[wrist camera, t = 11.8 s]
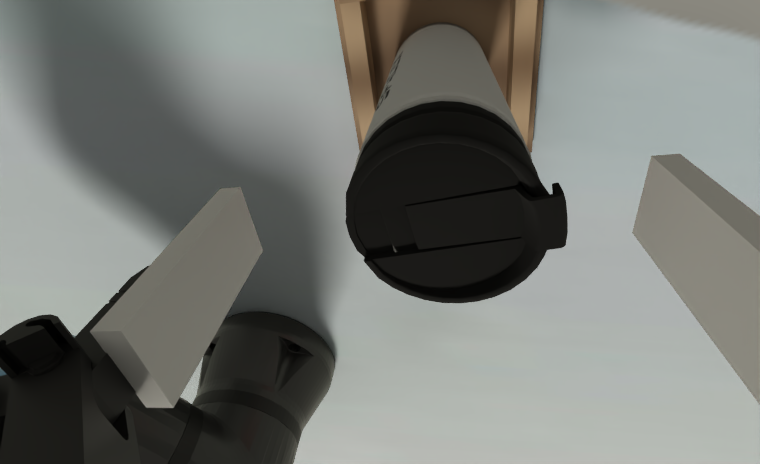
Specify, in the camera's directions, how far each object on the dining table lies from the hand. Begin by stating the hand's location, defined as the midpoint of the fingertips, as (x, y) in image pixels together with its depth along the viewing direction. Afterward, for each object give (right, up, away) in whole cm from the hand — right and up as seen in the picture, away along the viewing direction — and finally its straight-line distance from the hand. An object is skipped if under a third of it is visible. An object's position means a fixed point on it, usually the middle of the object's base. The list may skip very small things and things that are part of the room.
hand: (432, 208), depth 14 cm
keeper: (+2, +11, +15) cm, 19 cm away
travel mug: (+2, +10, +14) cm, 18 cm away
